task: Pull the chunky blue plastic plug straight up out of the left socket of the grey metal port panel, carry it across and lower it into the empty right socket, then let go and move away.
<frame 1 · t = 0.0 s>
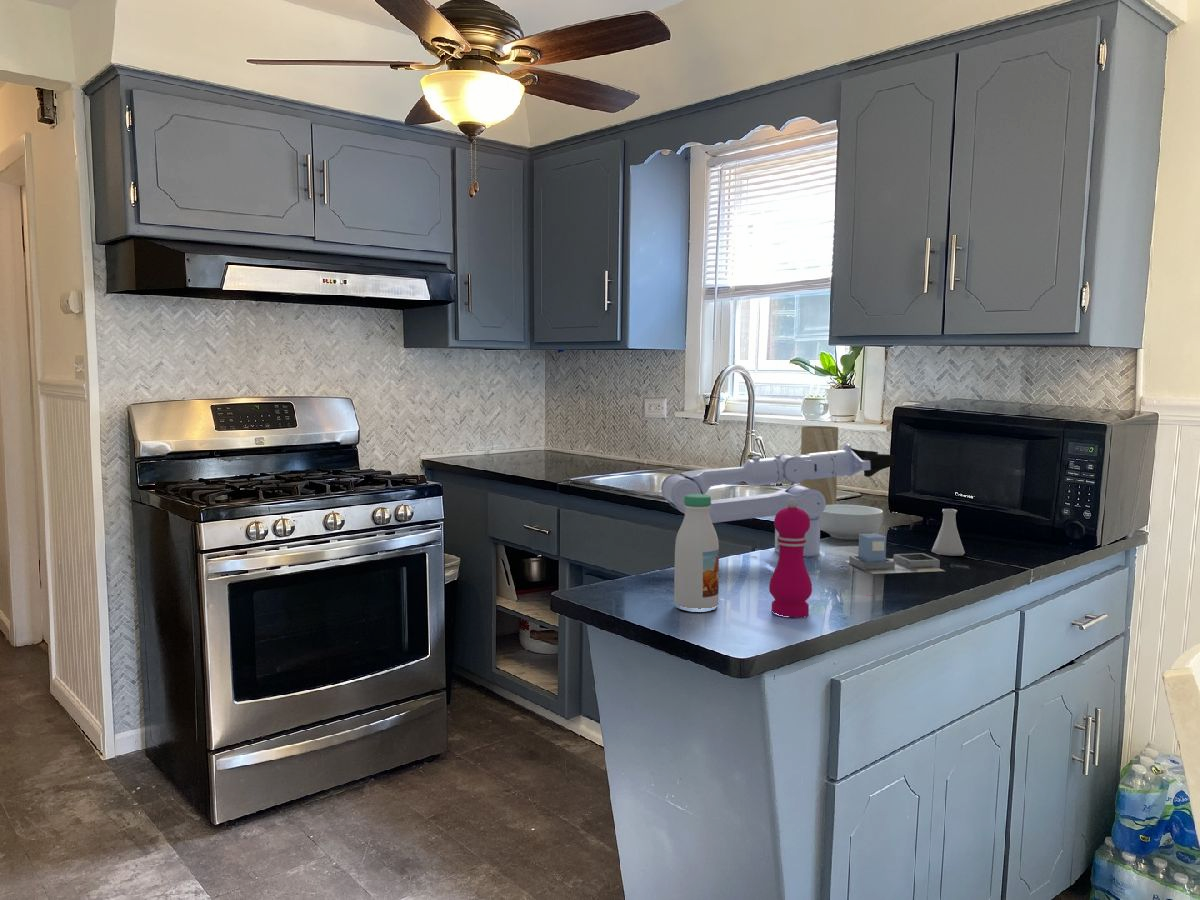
hand: (885, 458, 199), 22 cm above the countertop, tool horizontal, fingers open, 7 cm apart
pepper mill: (789, 614, 153), on the countertop
panel: (893, 570, 185), on the countertop
plug: (871, 566, 184), point 1 cm above the countertop, touching panel
flask: (947, 554, 202), on the countertop
tapered wooden vase: (817, 516, 250), on the countertop
milk bottle: (696, 608, 157), on the countertop
cereal bowl: (846, 537, 221), on the countertop
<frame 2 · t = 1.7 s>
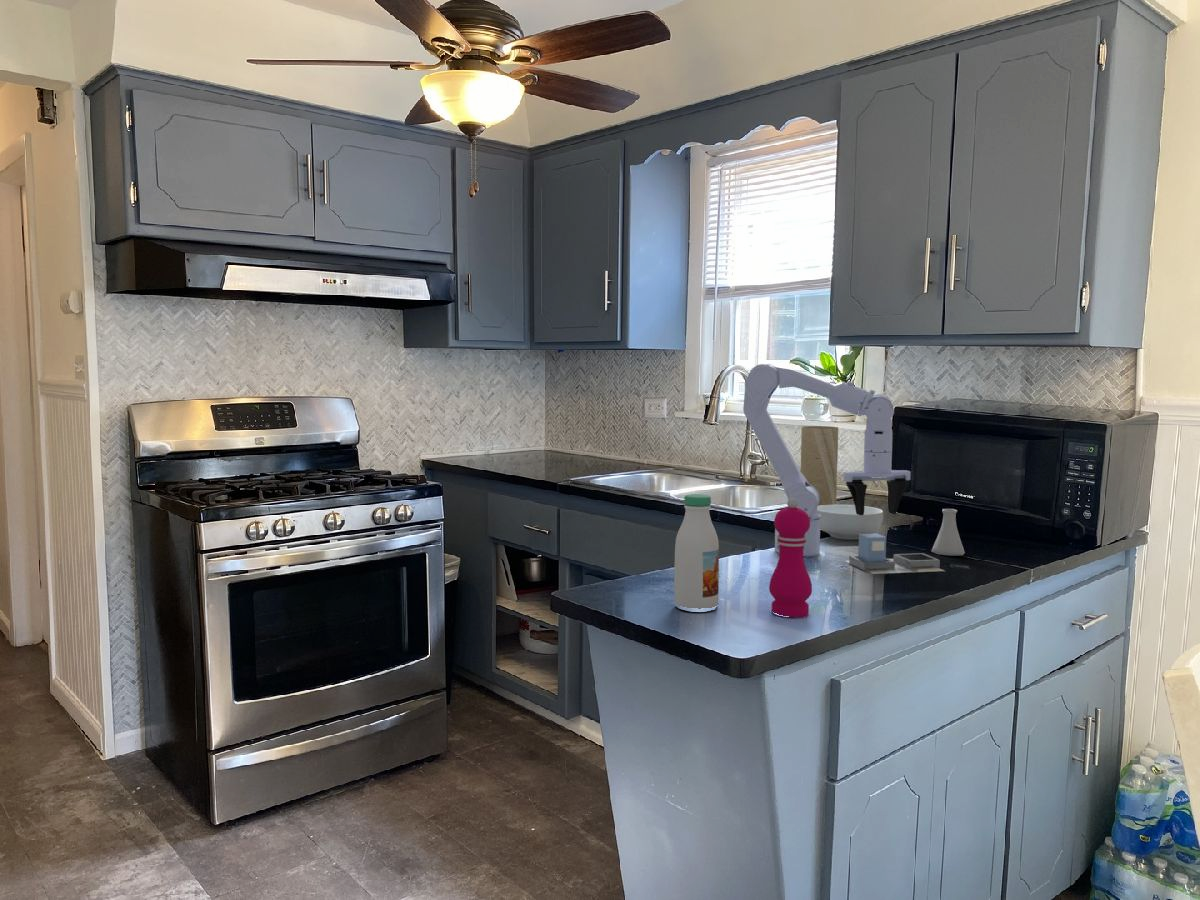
hand: (876, 513, 193), 10 cm above the countertop, tool pointing down, fingers open, 7 cm apart
nothing on the countertop moved.
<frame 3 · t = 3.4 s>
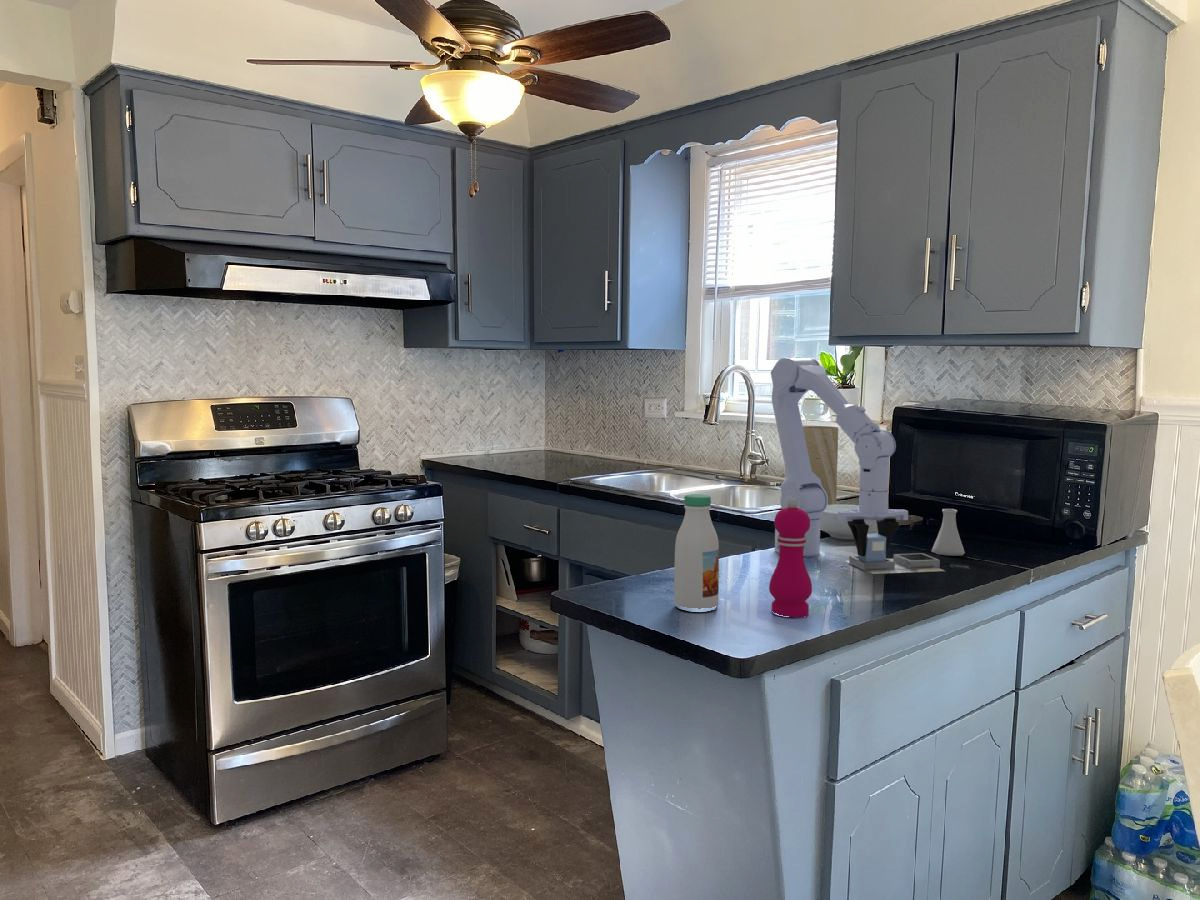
hand: (871, 555, 184), 3 cm above the countertop, tool pointing down, fingers closed on plug, 4 cm apart
plug: (871, 566, 184), point 1 cm above the countertop, touching gripper, panel
everything else where it was.
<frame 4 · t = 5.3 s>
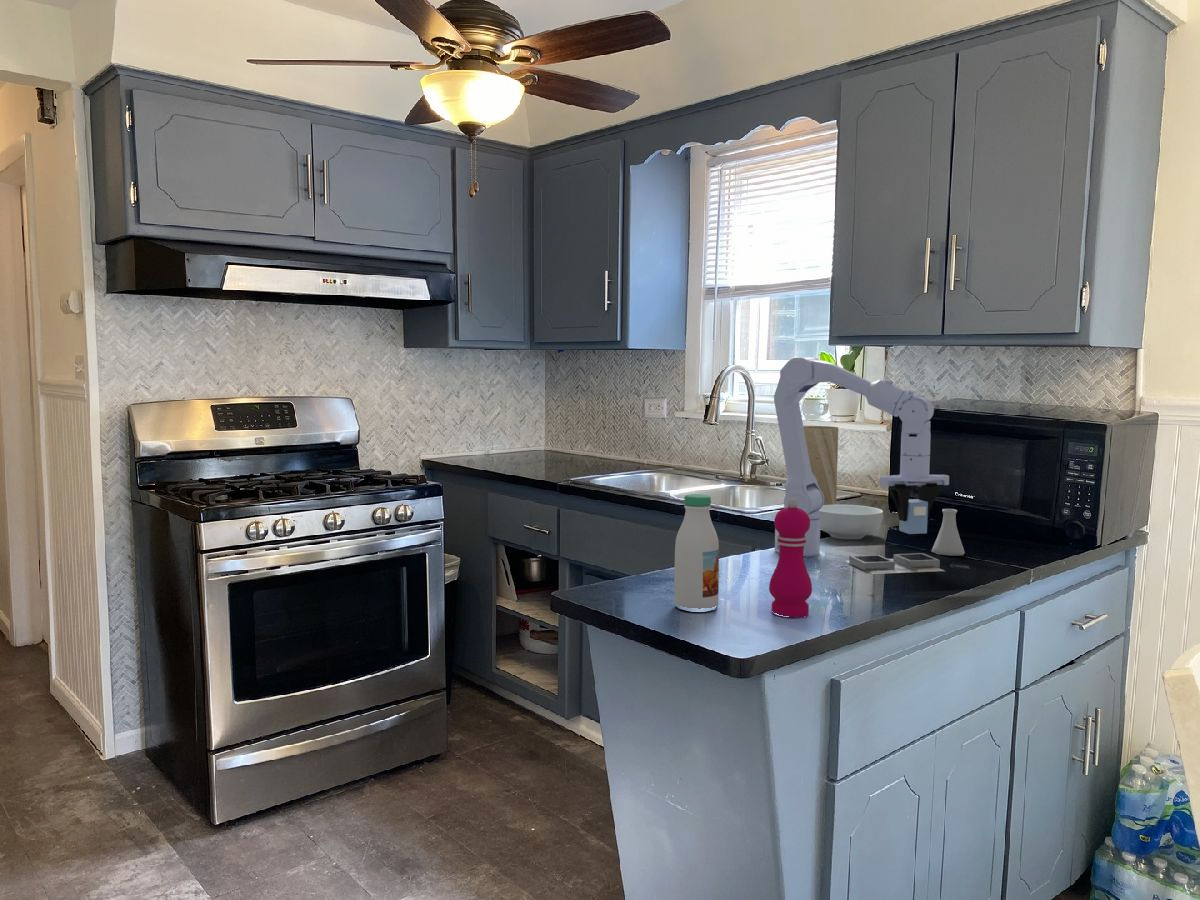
hand: (913, 520, 185), 10 cm above the countertop, tool pointing down, fingers closed on plug, 4 cm apart
plug: (912, 531, 185), point 8 cm above the countertop, touching gripper
everything else where it was.
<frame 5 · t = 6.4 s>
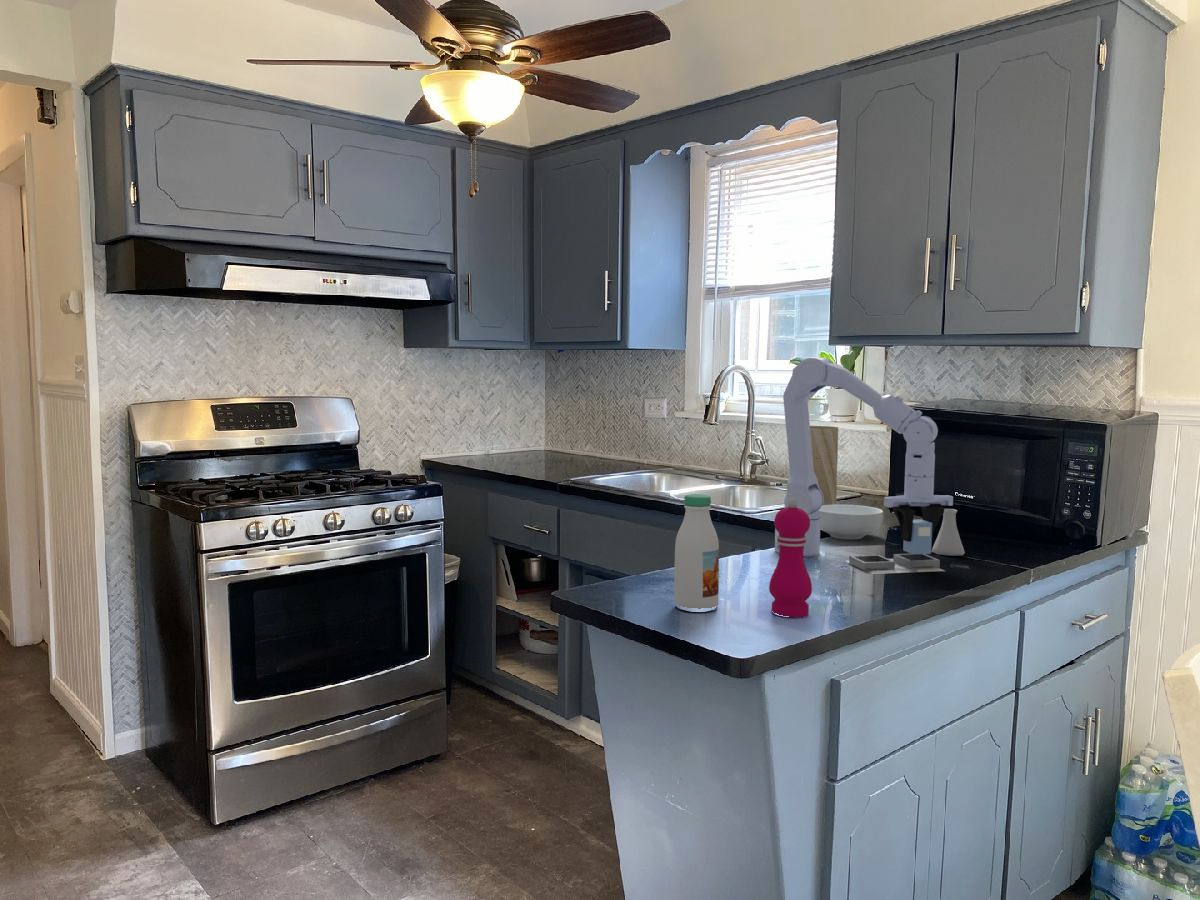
hand: (917, 540, 185), 6 cm above the countertop, tool pointing down, fingers closed on plug, 4 cm apart
plug: (916, 552, 185), point 4 cm above the countertop, touching gripper
everything else where it was.
when the fingers open (4 cm above the countertop, at t = 7.3 s): plug stays where it is, resting on panel.
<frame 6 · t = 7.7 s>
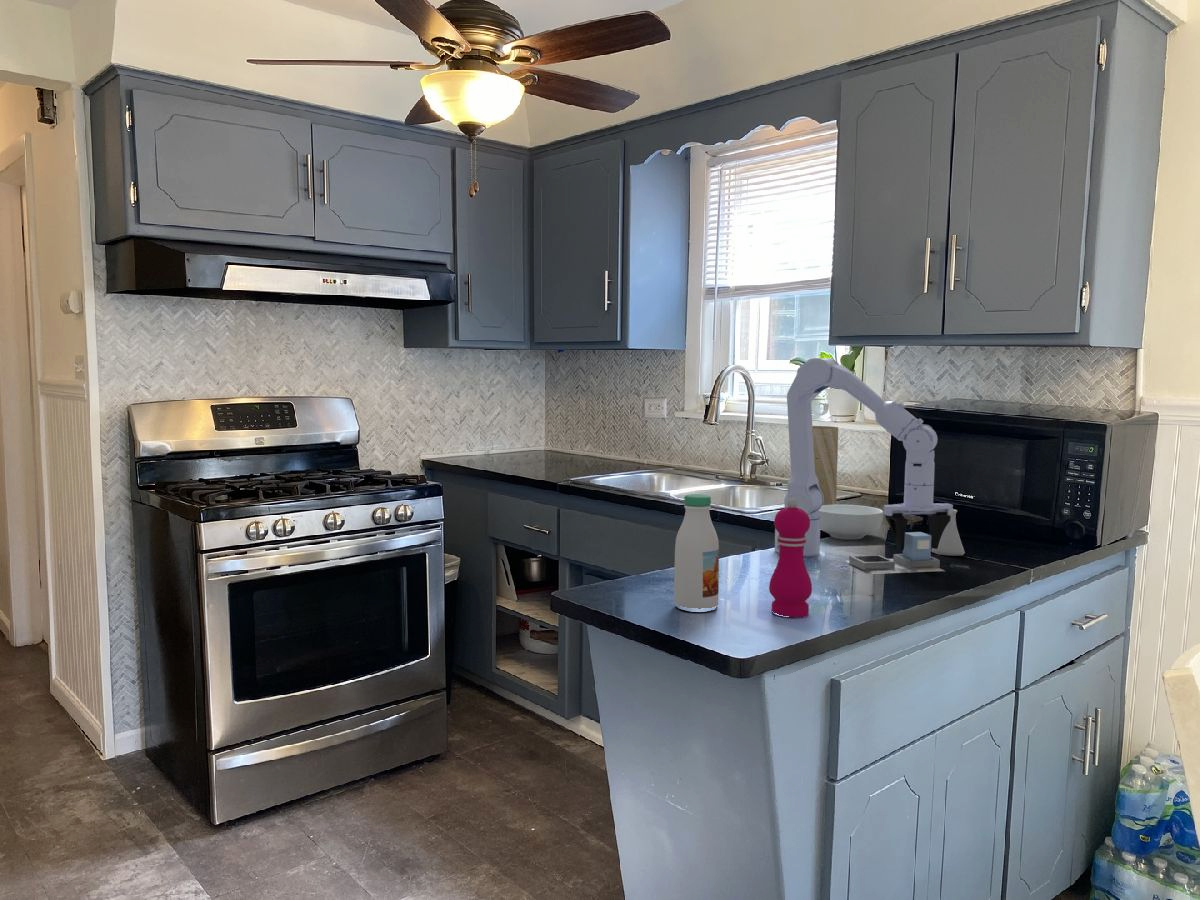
hand: (916, 548, 186), 4 cm above the countertop, tool pointing down, fingers open, 7 cm apart
plug: (916, 564, 186), point 1 cm above the countertop, touching panel
everything else where it was.
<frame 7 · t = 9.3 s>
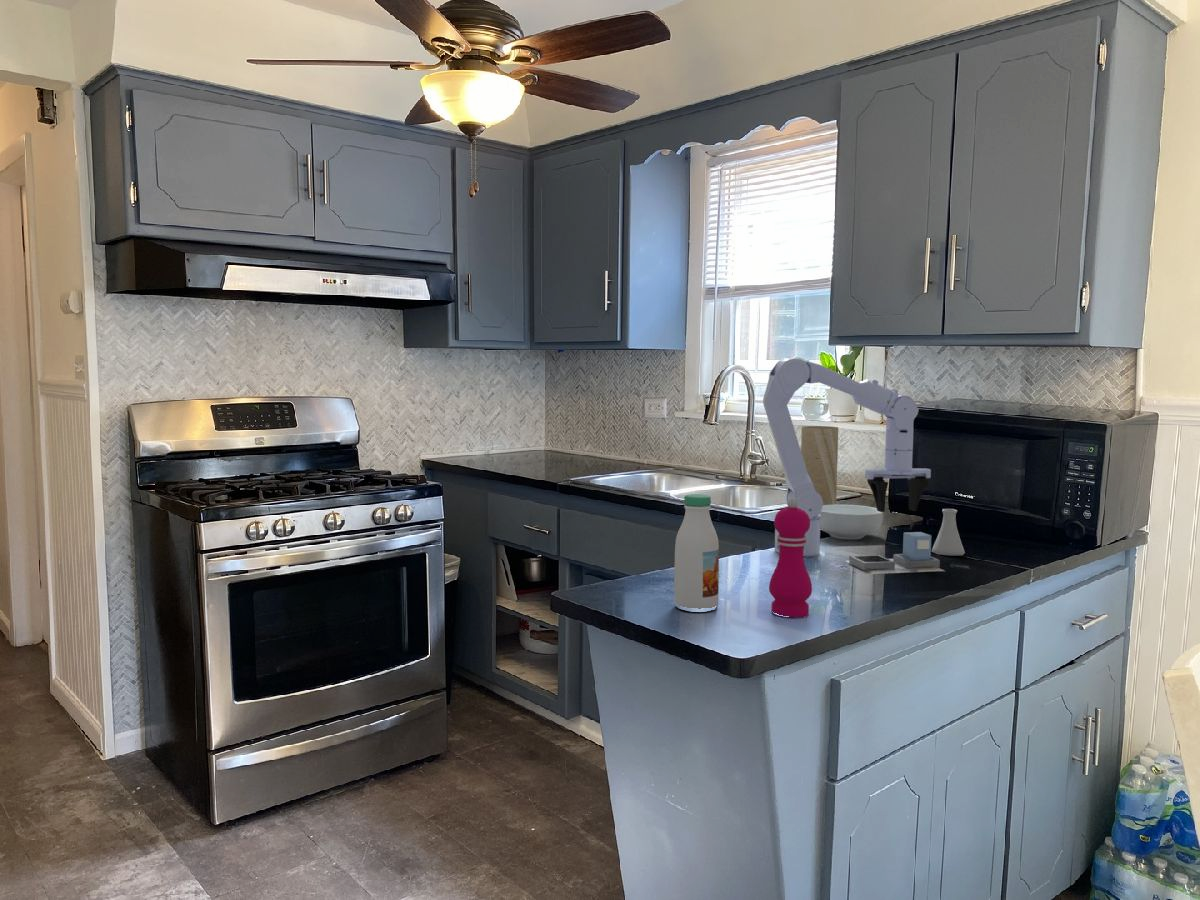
hand: (896, 510, 196), 10 cm above the countertop, tool pointing down, fingers open, 7 cm apart
nothing on the countertop moved.
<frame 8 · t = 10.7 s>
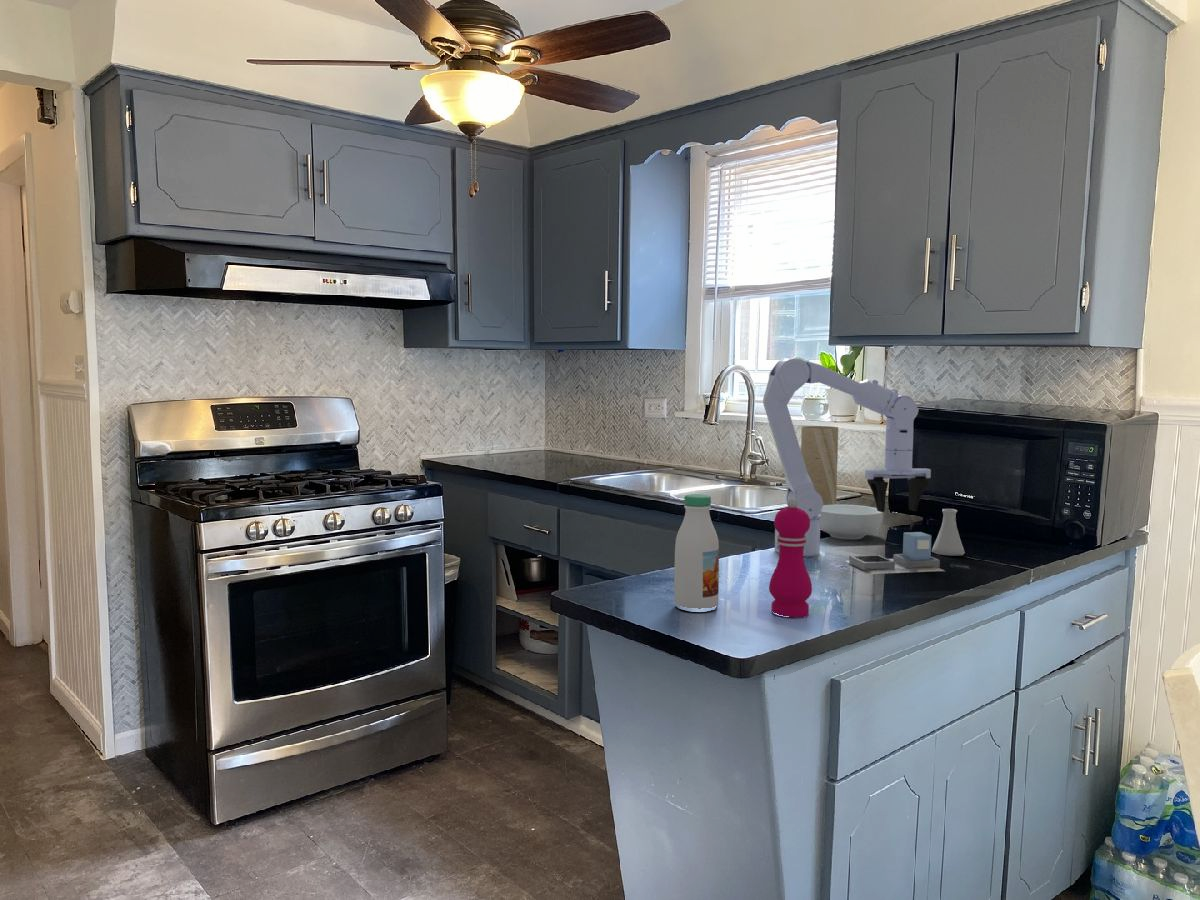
hand: (896, 510, 196), 10 cm above the countertop, tool pointing down, fingers open, 7 cm apart
nothing on the countertop moved.
at the end: plug 0.1 cm from the target spot on the panel, point 1.0 cm above the panel's base; plug tilted 0°; the gripper is holding nothing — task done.
